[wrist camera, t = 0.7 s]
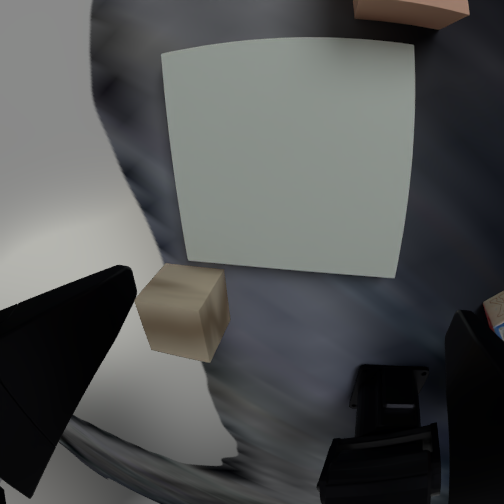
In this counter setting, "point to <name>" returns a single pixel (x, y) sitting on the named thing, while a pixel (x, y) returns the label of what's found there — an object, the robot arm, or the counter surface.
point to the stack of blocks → (495, 313)
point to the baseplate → (293, 151)
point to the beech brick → (185, 311)
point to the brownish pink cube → (412, 11)
